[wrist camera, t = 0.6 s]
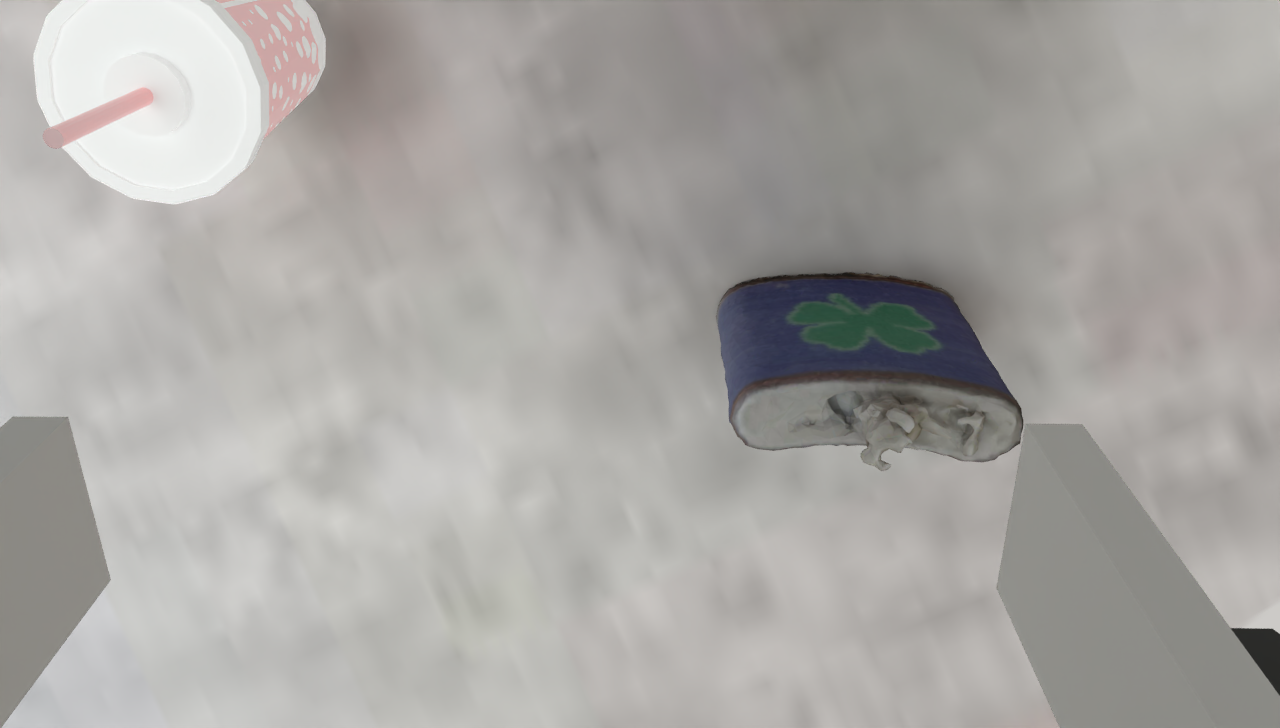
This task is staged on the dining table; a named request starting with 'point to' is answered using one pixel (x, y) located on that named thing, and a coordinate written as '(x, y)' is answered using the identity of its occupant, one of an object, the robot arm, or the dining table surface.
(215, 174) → the beverage cup
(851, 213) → the dining table surface
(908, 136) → the dining table surface
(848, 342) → the flask
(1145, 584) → the robot arm
